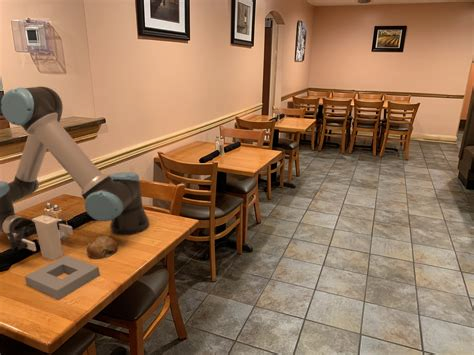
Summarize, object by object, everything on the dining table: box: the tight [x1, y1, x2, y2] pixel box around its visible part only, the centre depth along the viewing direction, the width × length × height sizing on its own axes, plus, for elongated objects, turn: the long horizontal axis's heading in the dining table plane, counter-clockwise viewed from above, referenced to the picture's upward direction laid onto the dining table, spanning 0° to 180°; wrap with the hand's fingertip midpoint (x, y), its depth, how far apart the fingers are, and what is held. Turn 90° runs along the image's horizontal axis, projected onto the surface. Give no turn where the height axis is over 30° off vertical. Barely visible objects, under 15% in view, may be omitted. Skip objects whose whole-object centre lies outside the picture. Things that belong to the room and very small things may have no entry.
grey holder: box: [24, 254, 101, 300], centre depth 109 cm, size 14×16×3 cm
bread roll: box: [86, 235, 118, 259], centre depth 125 cm, size 10×10×8 cm
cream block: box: [31, 214, 64, 261], centre depth 122 cm, size 4×9×15 cm, turn 60°
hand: (53, 238), depth 121 cm, fingers open, 13 cm apart
